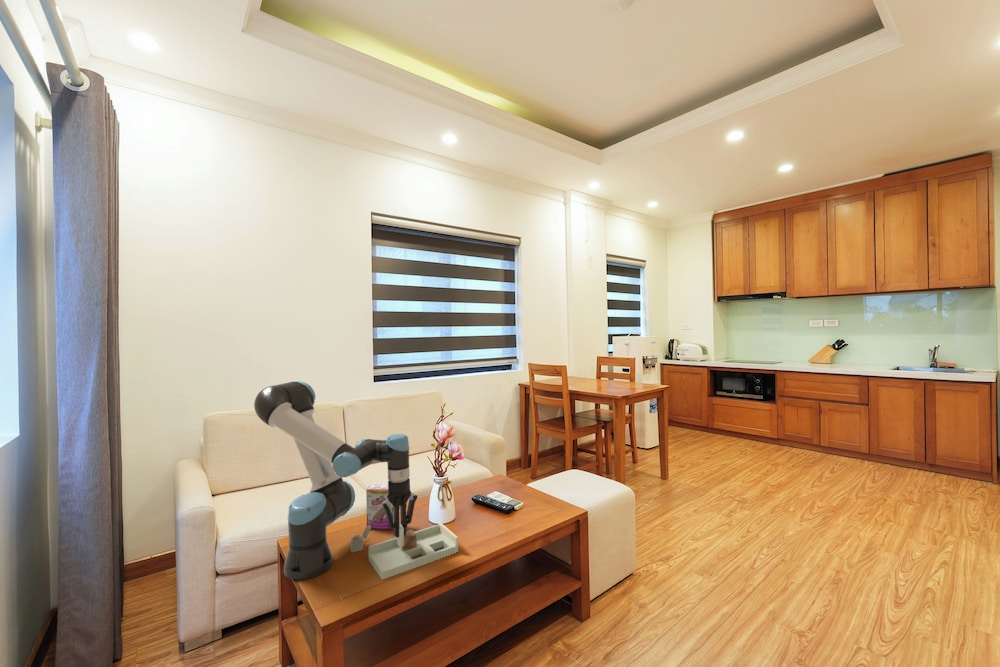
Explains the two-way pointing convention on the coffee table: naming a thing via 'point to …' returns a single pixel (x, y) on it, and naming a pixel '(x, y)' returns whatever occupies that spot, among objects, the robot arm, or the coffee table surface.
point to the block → (409, 540)
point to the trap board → (412, 551)
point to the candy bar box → (378, 507)
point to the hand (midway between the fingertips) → (400, 544)
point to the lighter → (359, 540)
